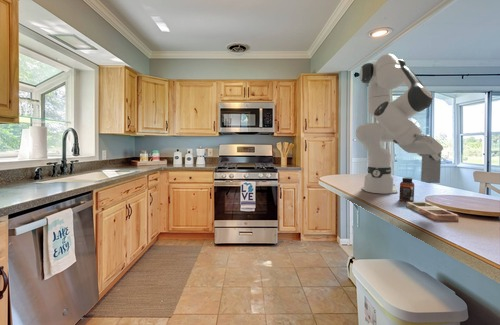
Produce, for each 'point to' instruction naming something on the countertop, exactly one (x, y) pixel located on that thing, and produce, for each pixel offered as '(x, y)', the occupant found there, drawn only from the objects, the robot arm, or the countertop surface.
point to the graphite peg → (430, 169)
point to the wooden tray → (433, 211)
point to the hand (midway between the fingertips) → (432, 159)
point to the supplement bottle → (406, 190)
